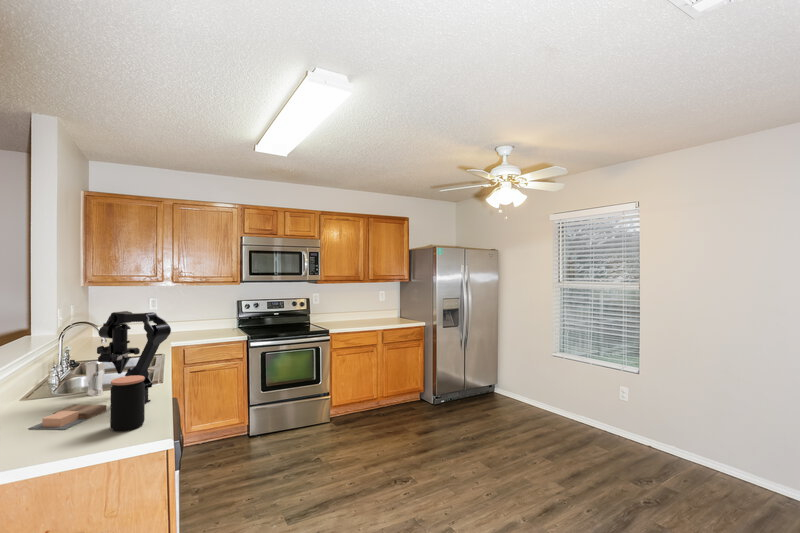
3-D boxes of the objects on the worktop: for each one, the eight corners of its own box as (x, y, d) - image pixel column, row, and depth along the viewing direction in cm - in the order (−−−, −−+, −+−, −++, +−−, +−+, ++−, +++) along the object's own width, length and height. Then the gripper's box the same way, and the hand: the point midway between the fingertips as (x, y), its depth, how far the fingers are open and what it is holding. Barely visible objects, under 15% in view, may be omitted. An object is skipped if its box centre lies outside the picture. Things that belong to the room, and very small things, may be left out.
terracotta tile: (78, 418, 159) (78, 411, 159) (60, 426, 151) (60, 418, 151) (61, 418, 159) (61, 410, 159) (42, 426, 151) (42, 418, 151)
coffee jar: (151, 423, 155) (151, 376, 155) (124, 434, 145) (124, 384, 145) (131, 420, 159) (131, 374, 159) (103, 430, 149) (103, 381, 149)
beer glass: (94, 396, 188) (94, 364, 188) (82, 395, 189) (82, 363, 189) (108, 392, 194) (108, 361, 195) (96, 391, 196) (96, 360, 196)
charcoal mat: (86, 419, 159) (86, 418, 159) (64, 429, 149) (64, 428, 149) (52, 419, 159) (52, 418, 159) (28, 429, 149) (28, 428, 149)
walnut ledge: (106, 411, 169) (106, 405, 169) (86, 419, 159) (86, 413, 159) (74, 410, 169) (74, 404, 169) (52, 419, 159) (52, 413, 159)
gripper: (117, 335, 193) (117, 368, 193) (85, 342, 174) (85, 378, 174) (140, 335, 192) (140, 368, 192) (110, 343, 174) (110, 379, 174)
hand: (119, 373), depth 183 cm, fingers closed
